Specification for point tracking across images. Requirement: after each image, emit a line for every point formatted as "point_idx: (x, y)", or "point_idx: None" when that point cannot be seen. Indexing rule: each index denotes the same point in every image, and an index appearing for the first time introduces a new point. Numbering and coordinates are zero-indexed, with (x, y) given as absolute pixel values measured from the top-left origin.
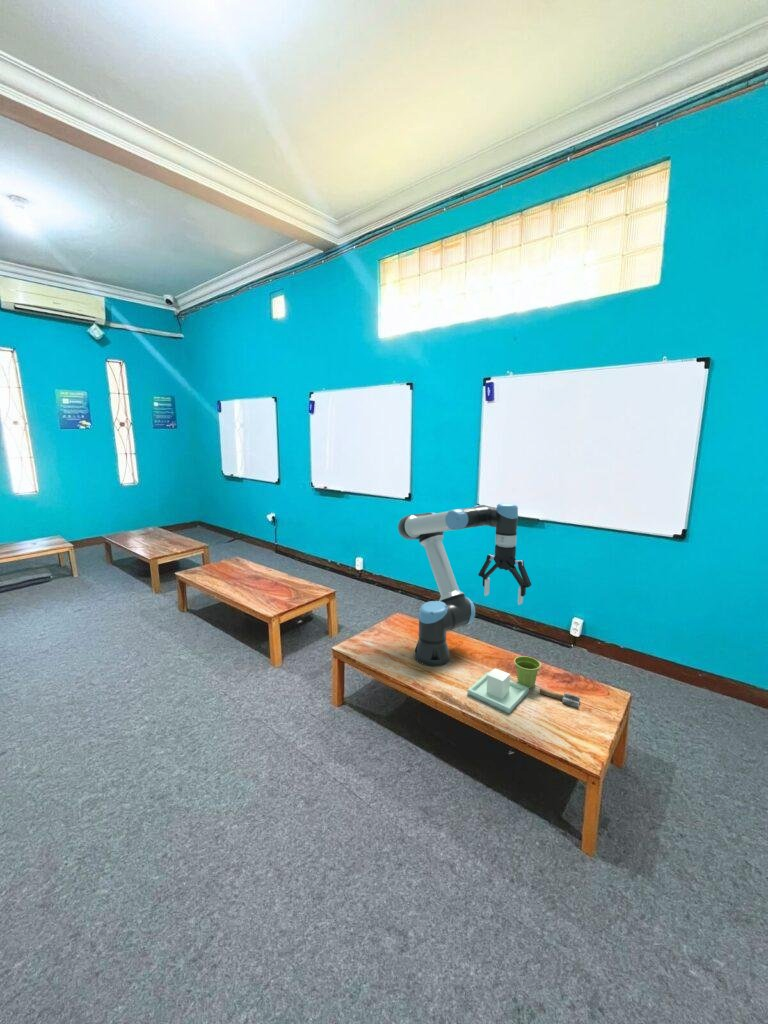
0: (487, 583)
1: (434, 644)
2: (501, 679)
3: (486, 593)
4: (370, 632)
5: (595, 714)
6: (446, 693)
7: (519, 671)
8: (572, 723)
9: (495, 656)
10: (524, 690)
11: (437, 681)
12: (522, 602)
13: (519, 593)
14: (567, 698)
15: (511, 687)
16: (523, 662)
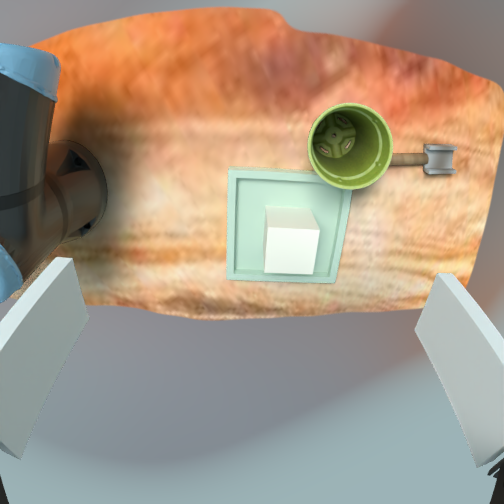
0: (24, 397)
1: (62, 240)
2: (306, 269)
3: (78, 325)
4: None
5: (474, 173)
6: (189, 294)
7: (330, 171)
8: (441, 227)
9: (194, 47)
10: (347, 197)
11: (145, 270)
12: (453, 279)
13: (466, 414)
14: (432, 152)
15: (308, 186)
16: (326, 115)
